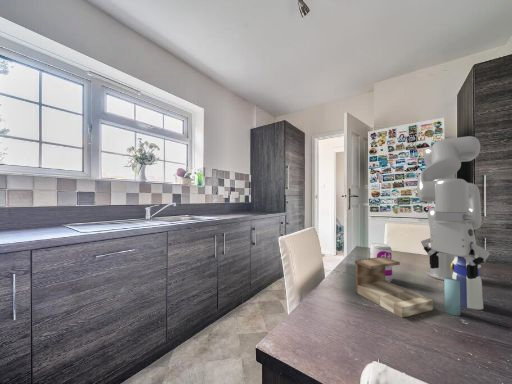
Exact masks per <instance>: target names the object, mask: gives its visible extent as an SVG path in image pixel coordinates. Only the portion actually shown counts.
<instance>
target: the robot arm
mask: <svg viewBox="0 0 512 384" xmlns="http://www.w3.org/2000/svg"><path fill="white" fill-rule="evenodd" d="M480 152H481V143H480V141H479V139H478V138H477V137H475V136H471V135H469V136H468V135H467V136H460V137H452V138H451V137H450V138H444V139H441V140H437V141H436V142H434V143H433V144H432V146H428V147H426V148H425V149H424V150H423V155H422V157H423V161H424V164H425V166H426V167H425V168H424V169H422V171H421V172H420V173H419V175H418V177H417V183H416V185H417V187H416V192H417V197H418V199H419V200H420V201H422V202H427V203H431V202H432V203H434V204H435V206H434V207H431V208H429V210H428V211H427V220H428V224H429V225H428V226H429V234H430V236H429V237H430V238H426V239H423V240H421V241H420V243H421V246H422V248H423V250H424V251H425V252H426V253H427V254H426V255H427V256H428V257H429V266H430V269H427V270H426V274H427V275H428V276H429V277H432V278H434V279H438V280H441V281H444V278H452V275H453V271H452V270H451V263H452V261H453V260H454V258H455V256H460V257H464V258H465V259H466V261H467V262H468V263H469V265H467V278H468V279H475V278H476V277H477V276H478V265H481V264H483V263H484V262H486V260H487V259H488V257H489V256H490V255H491V252H490V251H488V250H487V249H484V248H483V247H481V246H479V245H477V241H476V235H475V232H474V230H478V229H480V228H481V226H482V219H483V218H482V206H481V193H480V189H479V186H477V185H476V184H475V183H473V182H468V181H466V180H465V179H463V178H456V176H455V175H456V173H457V172H458V171H459V170H460V169H461V166H462V162H471V161H474V160H475V158H477V157H478V156H479V154H480ZM429 244H430V245H429ZM477 252H479V253H480V254H479V256H478V258H476V257H475V255H476V254H477Z"/></svg>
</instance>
